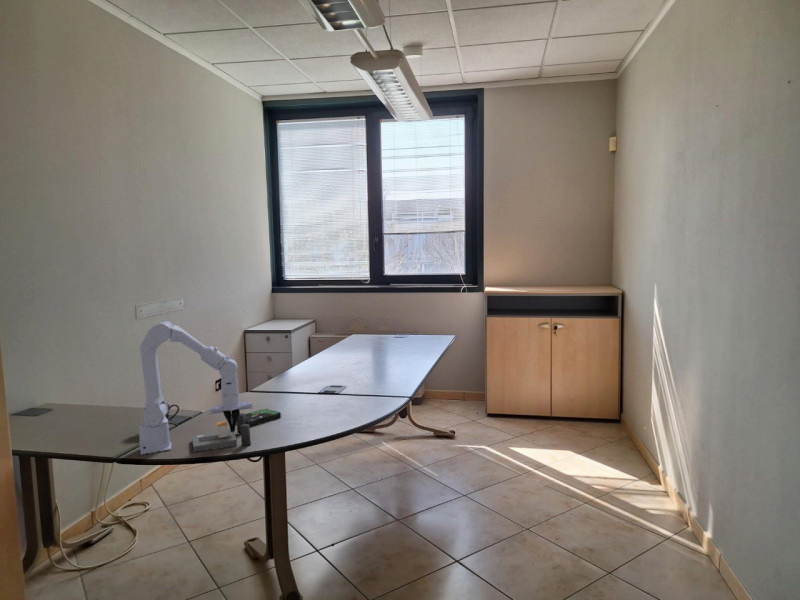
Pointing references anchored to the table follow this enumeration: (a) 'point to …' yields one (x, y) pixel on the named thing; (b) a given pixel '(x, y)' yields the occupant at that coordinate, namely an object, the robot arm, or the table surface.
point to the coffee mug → (169, 409)
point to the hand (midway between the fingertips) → (232, 430)
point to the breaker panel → (213, 441)
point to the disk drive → (261, 416)
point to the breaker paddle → (222, 429)
